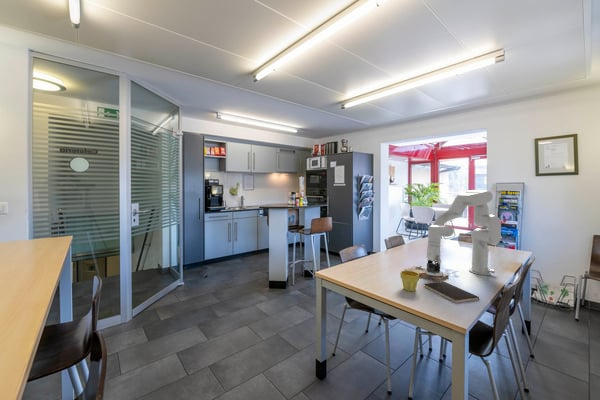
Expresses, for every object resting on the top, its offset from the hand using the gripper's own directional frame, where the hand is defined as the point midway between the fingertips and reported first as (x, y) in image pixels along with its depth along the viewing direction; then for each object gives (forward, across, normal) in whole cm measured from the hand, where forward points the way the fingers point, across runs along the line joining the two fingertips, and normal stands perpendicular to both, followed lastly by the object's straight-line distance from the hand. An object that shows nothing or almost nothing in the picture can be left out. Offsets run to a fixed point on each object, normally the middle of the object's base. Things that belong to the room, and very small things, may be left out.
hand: (433, 268), depth 172 cm
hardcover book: (+6, +26, -3) cm, 27 cm away
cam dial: (+3, 0, -2) cm, 4 cm away
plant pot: (+6, +22, -25) cm, 34 cm away
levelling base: (+6, -4, -3) cm, 7 cm away
